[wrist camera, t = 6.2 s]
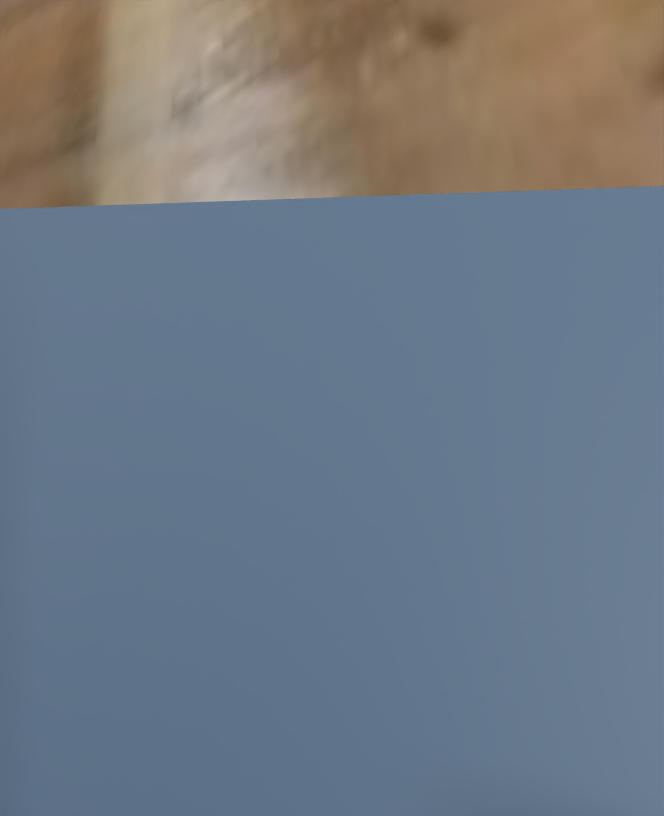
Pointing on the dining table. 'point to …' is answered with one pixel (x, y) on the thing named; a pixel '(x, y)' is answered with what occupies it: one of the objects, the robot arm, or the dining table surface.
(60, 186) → the dining table surface
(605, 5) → the dining table surface
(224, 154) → the dining table surface
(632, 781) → the blue-grey rectangular block
